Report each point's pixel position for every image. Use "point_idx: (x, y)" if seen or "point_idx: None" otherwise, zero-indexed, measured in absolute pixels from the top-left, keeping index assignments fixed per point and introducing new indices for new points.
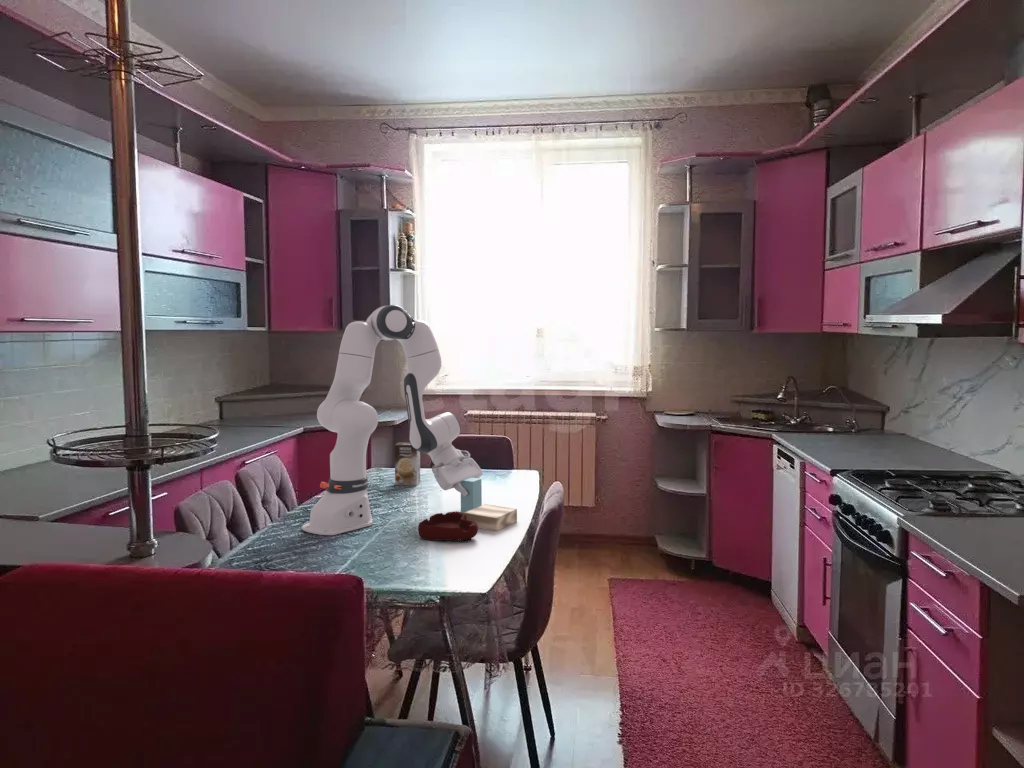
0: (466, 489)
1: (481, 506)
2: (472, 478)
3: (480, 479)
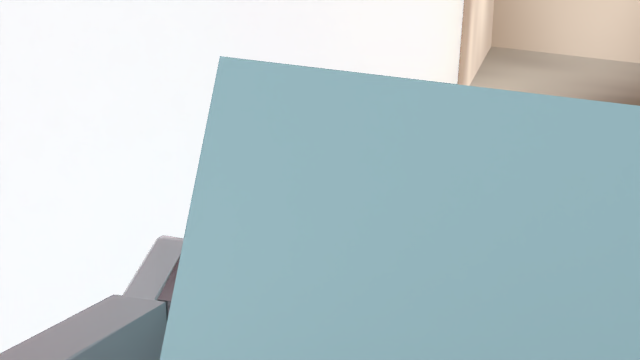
0: None
1: (627, 37)
2: (287, 345)
3: (277, 66)
